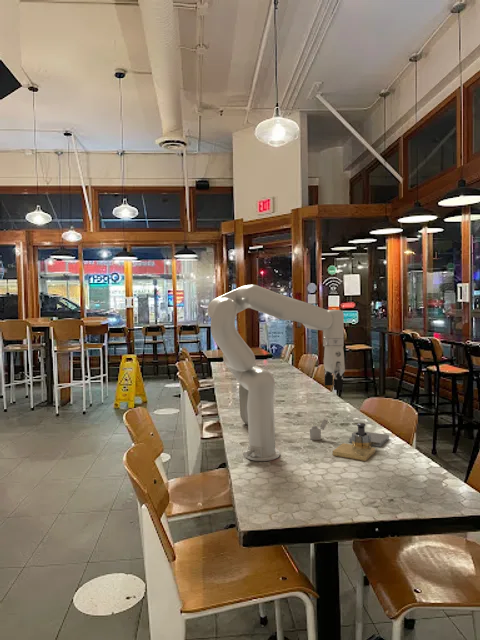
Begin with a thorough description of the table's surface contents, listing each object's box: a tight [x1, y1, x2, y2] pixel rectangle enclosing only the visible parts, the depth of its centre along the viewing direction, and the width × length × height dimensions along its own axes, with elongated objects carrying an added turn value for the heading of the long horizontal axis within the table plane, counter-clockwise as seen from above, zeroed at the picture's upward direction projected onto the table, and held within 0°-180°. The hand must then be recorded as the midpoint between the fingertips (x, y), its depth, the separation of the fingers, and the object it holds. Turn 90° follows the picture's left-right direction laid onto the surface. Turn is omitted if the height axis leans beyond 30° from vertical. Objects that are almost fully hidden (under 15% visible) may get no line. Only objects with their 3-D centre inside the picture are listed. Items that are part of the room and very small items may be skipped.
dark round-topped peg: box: [356, 422, 366, 436], centre depth 166 cm, size 3×3×9 cm
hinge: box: [332, 430, 390, 462], centre depth 166 cm, size 27×12×5 cm, turn 146°
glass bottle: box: [238, 383, 249, 425], centre depth 202 cm, size 10×10×28 cm
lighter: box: [309, 418, 329, 441], centre depth 178 cm, size 7×2×8 cm, turn 87°
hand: (333, 387), depth 169 cm, fingers open, 9 cm apart
